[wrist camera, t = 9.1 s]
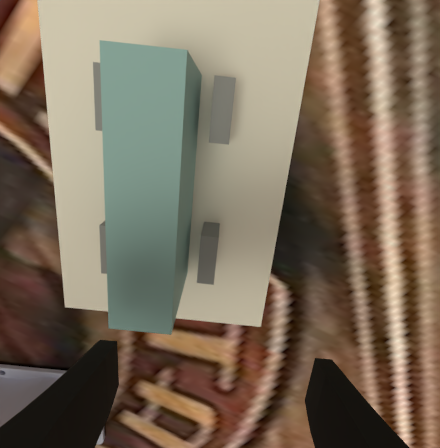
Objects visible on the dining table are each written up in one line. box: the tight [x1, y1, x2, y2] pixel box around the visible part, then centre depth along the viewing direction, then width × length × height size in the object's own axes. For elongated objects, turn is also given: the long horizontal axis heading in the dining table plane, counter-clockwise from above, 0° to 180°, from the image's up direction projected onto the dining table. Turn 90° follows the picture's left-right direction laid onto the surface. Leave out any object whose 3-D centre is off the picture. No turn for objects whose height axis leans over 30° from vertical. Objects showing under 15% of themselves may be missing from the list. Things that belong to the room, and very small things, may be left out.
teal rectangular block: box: [99, 40, 202, 334], centre depth 15 cm, size 3×12×6 cm, turn 174°
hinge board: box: [38, 0, 320, 327], centre depth 17 cm, size 14×20×4 cm
